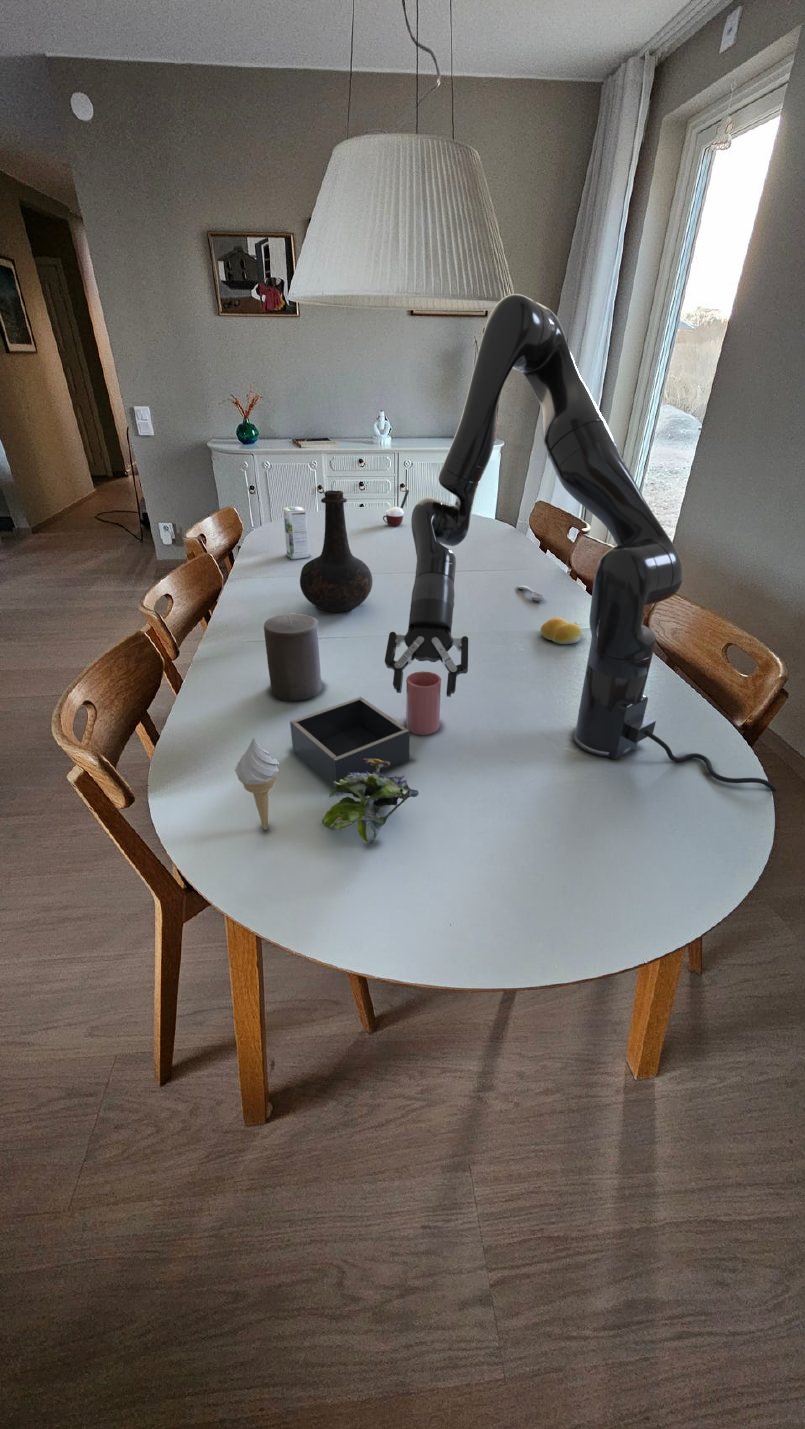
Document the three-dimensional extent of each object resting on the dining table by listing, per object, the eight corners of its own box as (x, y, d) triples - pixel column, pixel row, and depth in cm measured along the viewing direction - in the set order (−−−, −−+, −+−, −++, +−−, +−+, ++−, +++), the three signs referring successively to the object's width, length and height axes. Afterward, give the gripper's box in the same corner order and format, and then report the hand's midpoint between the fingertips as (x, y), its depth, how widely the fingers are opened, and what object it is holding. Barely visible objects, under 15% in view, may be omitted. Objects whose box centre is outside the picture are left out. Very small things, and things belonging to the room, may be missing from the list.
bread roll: (566, 648, 136) (569, 631, 134) (534, 636, 142) (536, 619, 140) (589, 638, 141) (591, 622, 139) (556, 627, 146) (559, 610, 144)
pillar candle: (273, 704, 114) (264, 629, 107) (268, 681, 122) (260, 609, 115) (326, 698, 117) (320, 623, 109) (318, 675, 125) (312, 604, 117)
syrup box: (286, 554, 196) (281, 507, 188) (304, 552, 198) (300, 505, 190) (291, 559, 191) (287, 511, 184) (309, 557, 193) (306, 509, 186)
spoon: (535, 603, 159) (535, 595, 159) (515, 591, 170) (516, 584, 169) (545, 602, 160) (546, 594, 159) (525, 590, 170) (526, 583, 170)
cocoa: (382, 527, 226) (382, 492, 220) (383, 523, 231) (382, 489, 225) (409, 527, 226) (409, 492, 220) (408, 523, 231) (409, 489, 225)
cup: (445, 727, 108) (448, 680, 103) (420, 738, 105) (421, 690, 100) (425, 714, 112) (426, 668, 107) (399, 724, 109) (399, 677, 104)
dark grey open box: (409, 760, 99) (409, 730, 96) (337, 791, 92) (335, 760, 89) (361, 724, 109) (360, 696, 106) (292, 750, 102) (289, 721, 99)
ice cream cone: (268, 810, 88) (256, 720, 81) (295, 827, 85) (285, 735, 78) (236, 831, 85) (220, 738, 77) (263, 849, 82) (249, 755, 74)
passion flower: (378, 835, 92) (424, 773, 89) (381, 879, 82) (433, 810, 79) (312, 799, 89) (358, 734, 86) (307, 839, 79) (358, 767, 76)
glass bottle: (295, 598, 162) (285, 486, 148) (360, 590, 168) (356, 481, 153) (311, 623, 148) (302, 501, 133) (382, 613, 153) (380, 495, 139)
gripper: (389, 594, 107) (379, 684, 103) (473, 598, 105) (465, 690, 101) (394, 612, 114) (384, 696, 110) (472, 616, 112) (465, 702, 108)
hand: (423, 693), depth 105 cm, fingers open, 8 cm apart
